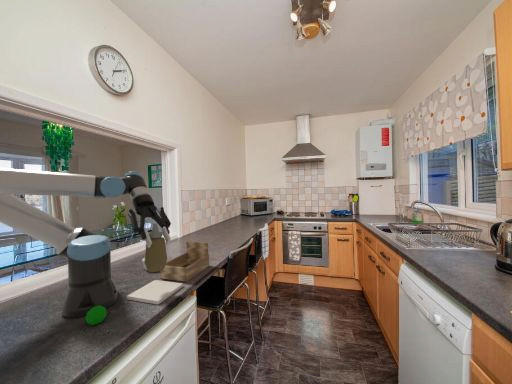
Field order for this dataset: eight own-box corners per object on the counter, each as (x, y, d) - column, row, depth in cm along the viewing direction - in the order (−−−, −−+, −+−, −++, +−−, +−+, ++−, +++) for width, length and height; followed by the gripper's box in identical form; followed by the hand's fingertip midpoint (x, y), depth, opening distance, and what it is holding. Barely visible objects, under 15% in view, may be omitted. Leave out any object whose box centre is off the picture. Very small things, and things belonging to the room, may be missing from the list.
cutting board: (126, 299, 75) (126, 296, 75) (155, 282, 89) (155, 279, 89) (158, 304, 71) (158, 301, 71) (183, 286, 85) (182, 283, 85)
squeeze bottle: (139, 271, 78) (138, 224, 78) (158, 264, 86) (157, 221, 85) (153, 275, 75) (152, 226, 74) (172, 267, 82) (170, 222, 82)
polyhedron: (110, 317, 64) (110, 302, 64) (98, 328, 60) (98, 311, 59) (94, 318, 64) (93, 303, 64) (81, 328, 59) (80, 312, 59)
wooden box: (159, 278, 93) (159, 252, 92) (186, 263, 112) (186, 241, 112) (186, 282, 89) (185, 254, 89) (209, 265, 108) (208, 242, 108)
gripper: (161, 204, 97) (180, 243, 87) (113, 207, 83) (128, 255, 72) (166, 193, 94) (186, 232, 83) (117, 194, 79) (133, 242, 69)
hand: (159, 243), depth 78 cm, fingers closed on squeeze bottle, 6 cm apart
